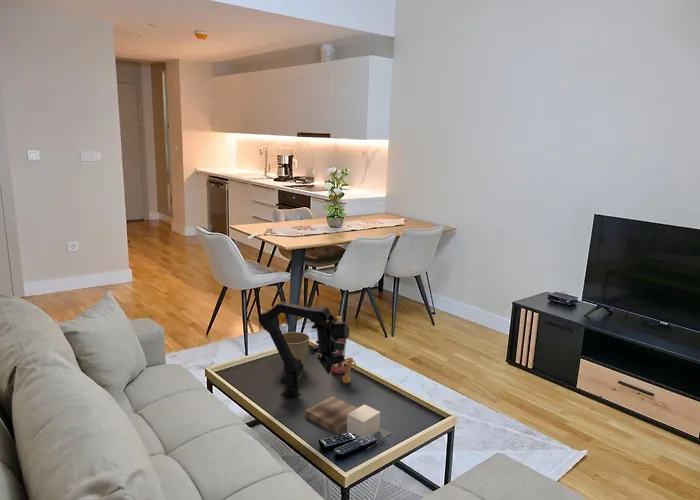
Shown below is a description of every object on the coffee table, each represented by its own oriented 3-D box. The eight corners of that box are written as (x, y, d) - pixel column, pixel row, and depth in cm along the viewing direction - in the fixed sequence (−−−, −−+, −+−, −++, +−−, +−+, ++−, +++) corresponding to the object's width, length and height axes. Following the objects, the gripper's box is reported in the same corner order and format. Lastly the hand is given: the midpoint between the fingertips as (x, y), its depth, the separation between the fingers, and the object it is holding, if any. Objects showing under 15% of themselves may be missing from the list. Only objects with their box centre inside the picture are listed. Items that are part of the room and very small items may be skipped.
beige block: (347, 414, 193) (363, 422, 188) (364, 404, 200) (380, 412, 195) (346, 433, 194) (362, 441, 189) (363, 422, 202) (379, 430, 197)
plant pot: (315, 369, 247) (315, 338, 243) (290, 378, 237) (290, 346, 234) (297, 359, 258) (297, 329, 254) (272, 367, 248) (272, 336, 245)
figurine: (336, 381, 235) (337, 357, 233) (344, 377, 240) (345, 353, 237) (350, 387, 230) (351, 362, 228) (358, 382, 235) (359, 358, 232)
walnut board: (305, 416, 205) (305, 410, 204) (332, 402, 217) (333, 396, 216) (337, 434, 193) (337, 427, 193) (365, 418, 205) (365, 411, 204)
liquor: (347, 374, 242) (349, 318, 236) (332, 376, 240) (334, 320, 234) (342, 368, 249) (343, 313, 243) (328, 370, 247) (329, 315, 240)
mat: (339, 433, 194) (339, 433, 194) (363, 419, 204) (363, 419, 204) (367, 449, 185) (367, 448, 185) (391, 433, 195) (391, 433, 195)
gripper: (353, 337, 208) (357, 373, 211) (329, 328, 224) (332, 361, 226) (330, 345, 202) (334, 382, 205) (307, 335, 218) (311, 369, 220)
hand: (328, 373), depth 214 cm, fingers closed
